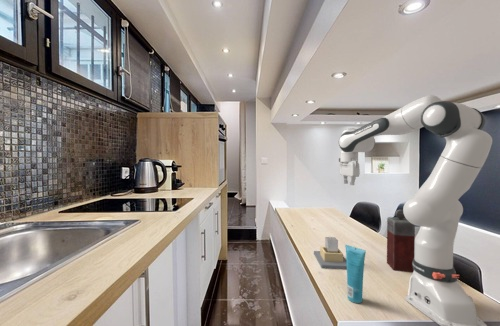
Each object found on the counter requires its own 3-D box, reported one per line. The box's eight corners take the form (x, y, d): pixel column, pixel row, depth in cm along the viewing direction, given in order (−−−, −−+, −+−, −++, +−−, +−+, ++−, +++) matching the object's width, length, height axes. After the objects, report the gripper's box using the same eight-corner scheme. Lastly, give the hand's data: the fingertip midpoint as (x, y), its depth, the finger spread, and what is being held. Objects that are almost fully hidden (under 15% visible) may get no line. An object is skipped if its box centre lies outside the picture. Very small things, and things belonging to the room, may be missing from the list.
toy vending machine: (404, 262, 118) (404, 207, 118) (414, 272, 107) (415, 212, 107) (384, 260, 120) (385, 207, 120) (393, 270, 109) (394, 211, 109)
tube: (367, 300, 84) (368, 248, 84) (363, 306, 80) (363, 251, 80) (346, 293, 89) (347, 243, 89) (341, 298, 85) (342, 246, 86)
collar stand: (351, 269, 109) (351, 257, 109) (321, 268, 110) (321, 256, 110) (339, 254, 127) (339, 244, 127) (313, 253, 128) (313, 243, 128)
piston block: (337, 260, 116) (338, 240, 116) (327, 259, 116) (327, 240, 116) (334, 256, 121) (335, 237, 121) (325, 255, 121) (325, 236, 121)
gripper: (363, 158, 115) (362, 186, 114) (348, 159, 135) (348, 183, 135) (350, 158, 115) (349, 186, 115) (337, 159, 135) (337, 182, 135)
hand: (348, 184), depth 125 cm, fingers open, 8 cm apart
